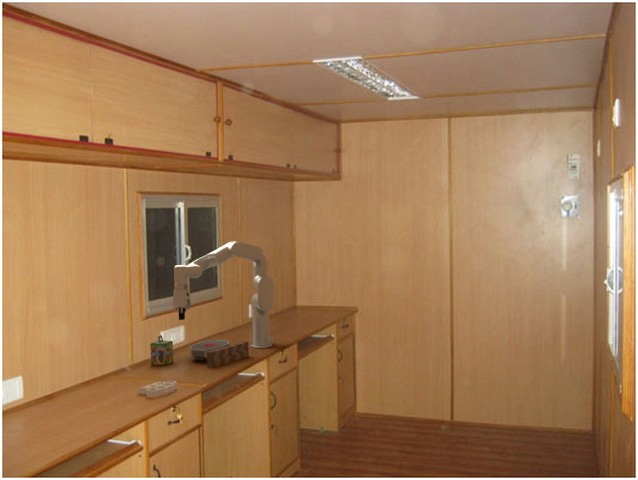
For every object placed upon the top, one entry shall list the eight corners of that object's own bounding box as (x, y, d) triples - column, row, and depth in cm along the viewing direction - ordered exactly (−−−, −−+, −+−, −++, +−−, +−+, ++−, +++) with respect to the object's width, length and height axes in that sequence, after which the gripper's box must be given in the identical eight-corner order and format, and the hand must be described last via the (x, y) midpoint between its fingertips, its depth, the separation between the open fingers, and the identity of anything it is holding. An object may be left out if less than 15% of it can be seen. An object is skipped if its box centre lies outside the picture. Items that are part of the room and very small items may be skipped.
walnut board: (244, 355, 380) (244, 341, 380) (248, 356, 379) (248, 342, 378) (207, 367, 355) (207, 351, 355) (211, 367, 354) (211, 352, 353)
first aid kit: (212, 364, 362) (235, 354, 386) (212, 350, 362) (234, 341, 385) (184, 362, 368) (207, 352, 392) (183, 348, 368) (207, 339, 391)
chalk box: (166, 365, 361) (165, 337, 360) (150, 365, 363) (149, 337, 362) (174, 361, 370) (173, 334, 369) (158, 361, 372) (157, 334, 371)
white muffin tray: (158, 386, 321) (184, 389, 315) (133, 396, 305) (160, 399, 299) (158, 379, 321) (184, 382, 315) (132, 388, 305) (159, 392, 299)
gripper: (195, 287, 385) (196, 319, 386) (176, 285, 393) (176, 317, 394) (186, 288, 379) (186, 321, 379) (166, 287, 387) (167, 319, 388)
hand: (181, 319), depth 387 cm, fingers closed
